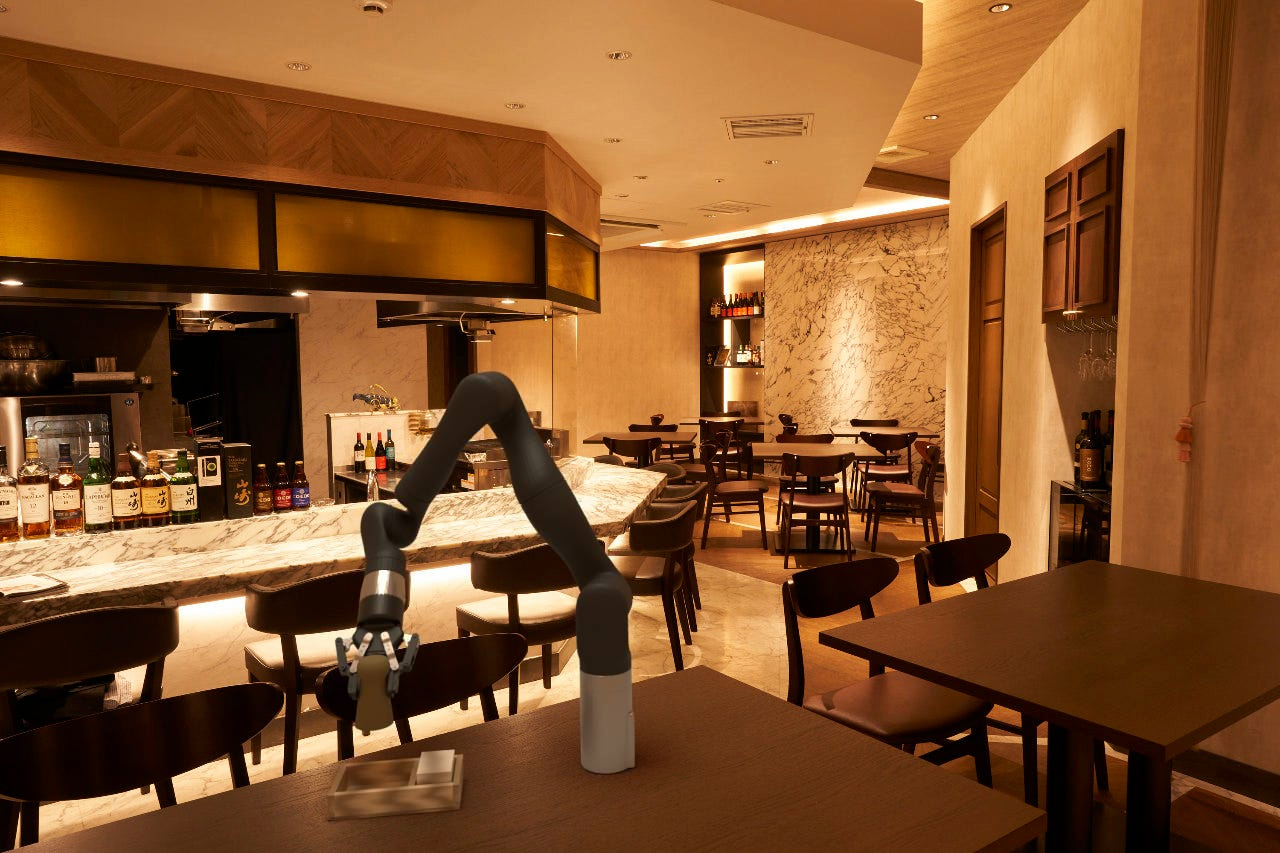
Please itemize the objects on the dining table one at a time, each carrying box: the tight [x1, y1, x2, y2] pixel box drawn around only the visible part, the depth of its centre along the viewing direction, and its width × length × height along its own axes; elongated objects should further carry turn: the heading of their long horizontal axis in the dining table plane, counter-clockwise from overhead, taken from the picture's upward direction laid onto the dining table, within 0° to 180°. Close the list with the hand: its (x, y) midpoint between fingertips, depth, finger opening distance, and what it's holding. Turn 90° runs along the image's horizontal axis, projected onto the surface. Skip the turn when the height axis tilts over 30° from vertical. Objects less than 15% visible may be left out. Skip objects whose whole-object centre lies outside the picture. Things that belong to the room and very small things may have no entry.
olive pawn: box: [354, 655, 395, 732], centre depth 133 cm, size 6×6×11 cm
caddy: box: [327, 749, 464, 821], centre depth 134 cm, size 20×11×6 cm, turn 99°
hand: (372, 696), depth 131 cm, fingers closed on olive pawn, 5 cm apart
